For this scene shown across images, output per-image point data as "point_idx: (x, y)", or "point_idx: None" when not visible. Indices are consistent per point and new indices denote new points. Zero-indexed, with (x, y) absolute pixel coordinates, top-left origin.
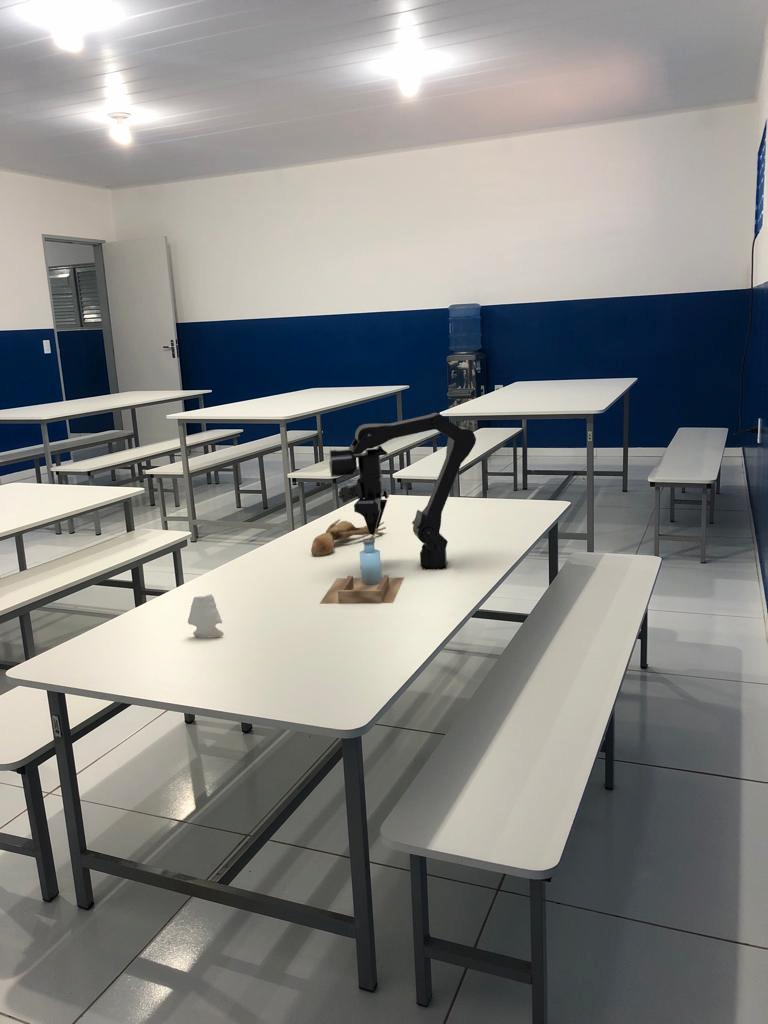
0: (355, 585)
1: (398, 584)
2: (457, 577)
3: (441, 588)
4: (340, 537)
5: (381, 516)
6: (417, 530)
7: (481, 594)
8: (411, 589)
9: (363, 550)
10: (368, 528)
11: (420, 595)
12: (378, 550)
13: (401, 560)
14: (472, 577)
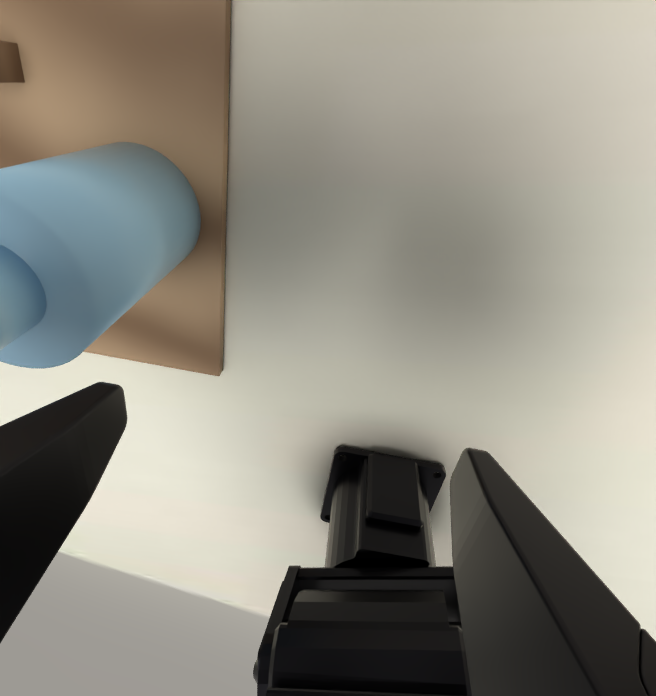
0: (58, 95)
1: (104, 344)
2: (236, 529)
3: (106, 474)
4: None
5: (473, 686)
6: (297, 668)
7: (60, 549)
8: (81, 384)
9: (44, 225)
10: (7, 431)
11: (11, 407)
12: (61, 359)
13: (582, 380)
14: (232, 559)
